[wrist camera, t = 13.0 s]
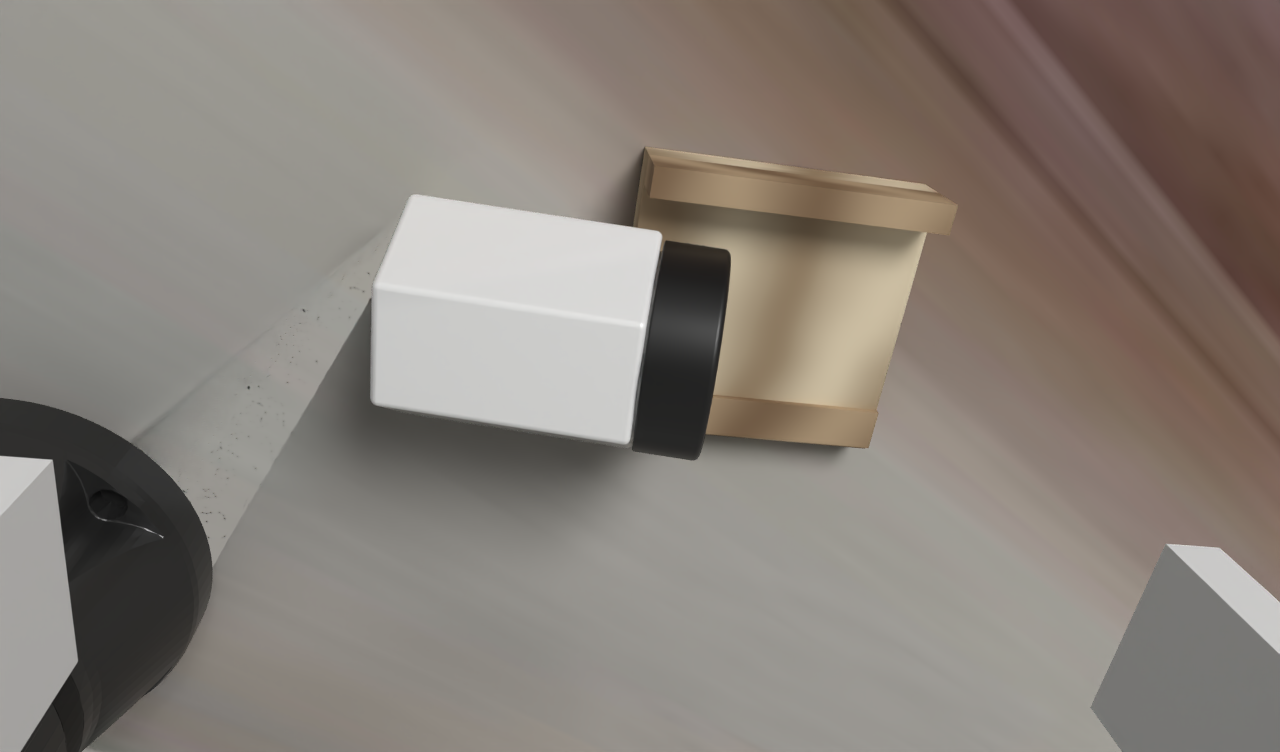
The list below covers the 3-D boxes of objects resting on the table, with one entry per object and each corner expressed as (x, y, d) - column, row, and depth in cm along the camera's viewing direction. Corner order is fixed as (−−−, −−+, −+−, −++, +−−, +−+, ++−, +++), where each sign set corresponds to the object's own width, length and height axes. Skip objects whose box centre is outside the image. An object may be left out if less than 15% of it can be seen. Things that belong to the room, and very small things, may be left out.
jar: (430, 371, 41) (698, 413, 41) (365, 460, 34) (692, 512, 33) (439, 170, 37) (733, 215, 37) (368, 220, 30) (735, 276, 30)
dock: (605, 410, 42) (610, 448, 39) (644, 146, 38) (654, 165, 34) (855, 432, 44) (879, 471, 41) (924, 184, 39) (958, 205, 36)
